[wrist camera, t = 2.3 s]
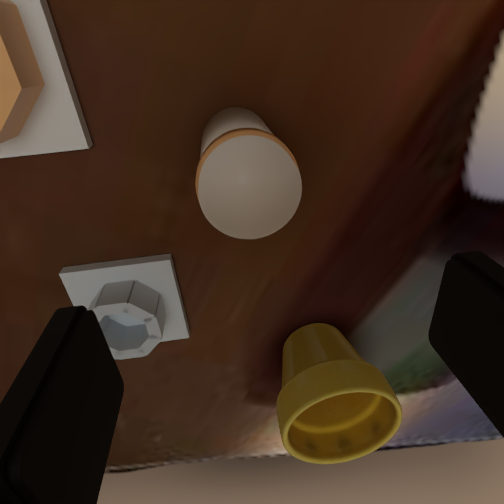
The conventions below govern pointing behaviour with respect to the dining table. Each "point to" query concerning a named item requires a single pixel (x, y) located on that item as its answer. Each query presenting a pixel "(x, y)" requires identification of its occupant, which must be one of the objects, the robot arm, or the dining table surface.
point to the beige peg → (246, 176)
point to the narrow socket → (130, 302)
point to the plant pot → (332, 399)
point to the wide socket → (36, 85)
